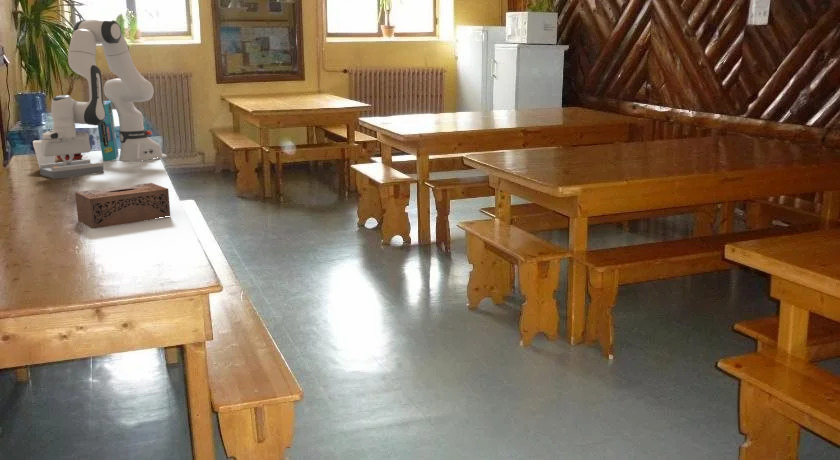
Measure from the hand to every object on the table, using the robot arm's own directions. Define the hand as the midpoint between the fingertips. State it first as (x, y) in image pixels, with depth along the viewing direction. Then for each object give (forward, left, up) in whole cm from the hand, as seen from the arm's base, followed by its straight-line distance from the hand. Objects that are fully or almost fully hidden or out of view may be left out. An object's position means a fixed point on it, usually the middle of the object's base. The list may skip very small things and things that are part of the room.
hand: (68, 164), depth 355 cm
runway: (-2, 0, -4) cm, 4 cm away
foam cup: (+1, -20, -4) cm, 21 cm away
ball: (+5, 0, -2) cm, 6 cm away
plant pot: (-19, -42, -5) cm, 46 cm away
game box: (-35, -33, -4) cm, 48 cm away
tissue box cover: (+23, +101, -5) cm, 104 cm away
